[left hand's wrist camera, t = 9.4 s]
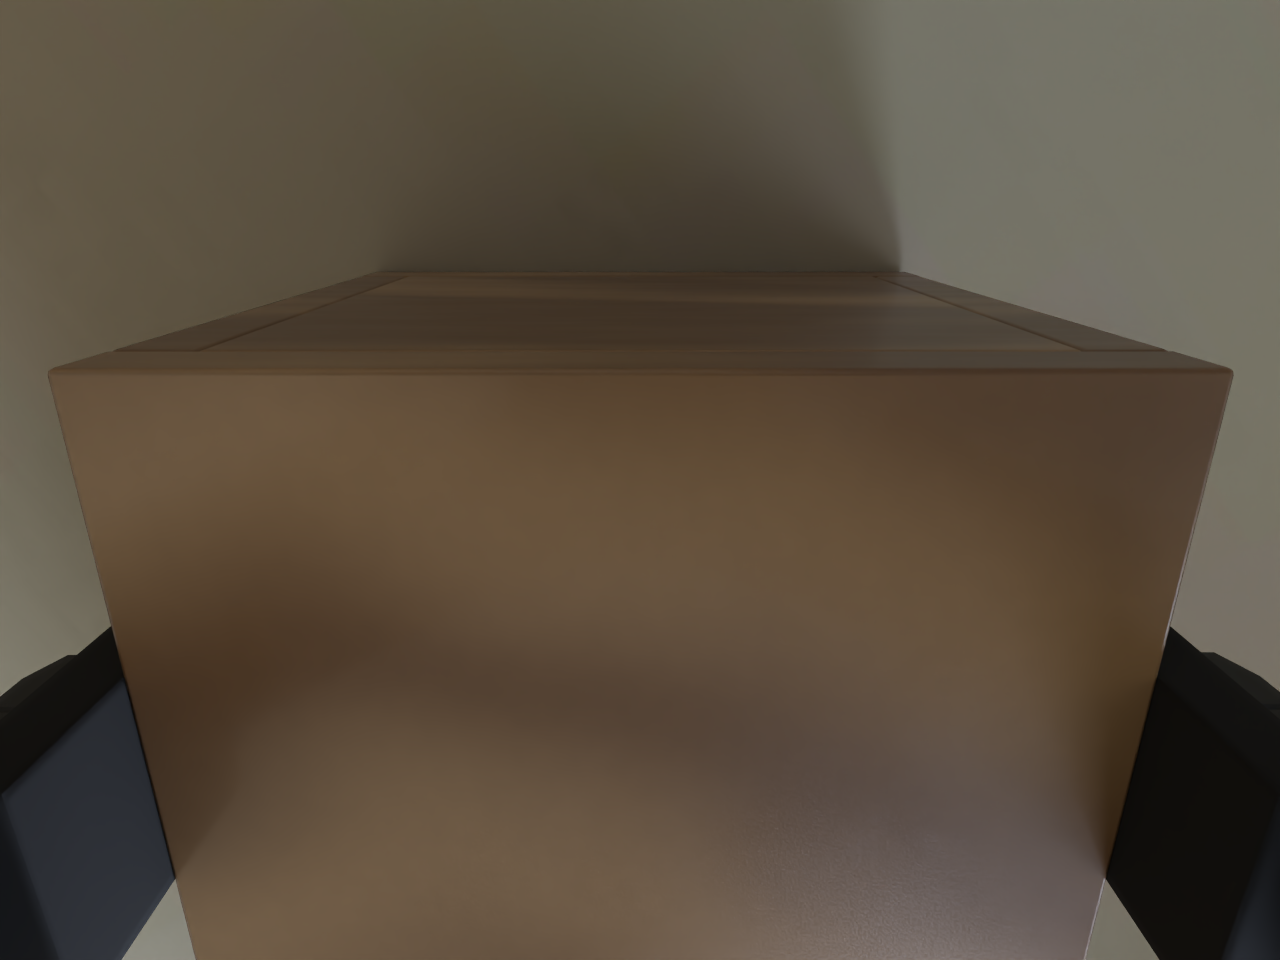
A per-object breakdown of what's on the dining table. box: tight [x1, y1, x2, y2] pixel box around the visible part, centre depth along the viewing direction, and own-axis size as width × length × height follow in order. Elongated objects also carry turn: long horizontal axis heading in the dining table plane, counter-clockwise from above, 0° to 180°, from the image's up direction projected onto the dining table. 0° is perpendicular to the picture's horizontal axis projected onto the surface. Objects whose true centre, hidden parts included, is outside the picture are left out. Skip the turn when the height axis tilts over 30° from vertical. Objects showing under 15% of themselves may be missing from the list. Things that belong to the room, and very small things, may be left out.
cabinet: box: [48, 272, 1233, 960], centre depth 15 cm, size 20×11×10 cm, turn 0°
